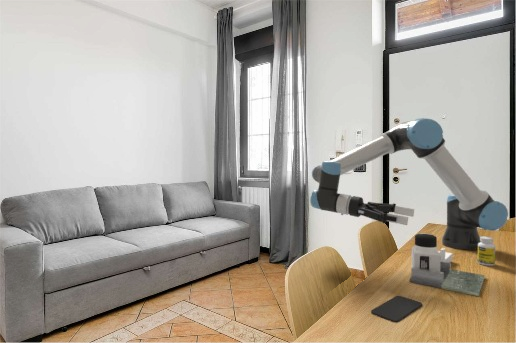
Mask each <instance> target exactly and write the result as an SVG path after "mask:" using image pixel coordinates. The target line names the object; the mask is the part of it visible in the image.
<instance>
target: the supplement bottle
mask: <svg viewBox="0 0 516 343" xmlns="http://www.w3.org/2000/svg"><path fill="white" fill-rule="evenodd" d="M480 241H481V242H480V243H478V249H477V258H476V259H477V263H478V264H479V265H482V266H487V267H488V266H489V267H490V266H491V267H493V266H495V264H496V245H495V244H494V238H493V237H490V236H480Z"/></svg>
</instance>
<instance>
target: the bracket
mask: <svg viewBox="0 0 516 343" xmlns="http://www.w3.org/2000/svg"><path fill="white" fill-rule="evenodd" d="M437 251H438V252H439V253H440V255H441V258H440V261H446V262H453V253H452V252H447V251H446V248H445V247H442V248H440V250H437Z"/></svg>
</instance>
